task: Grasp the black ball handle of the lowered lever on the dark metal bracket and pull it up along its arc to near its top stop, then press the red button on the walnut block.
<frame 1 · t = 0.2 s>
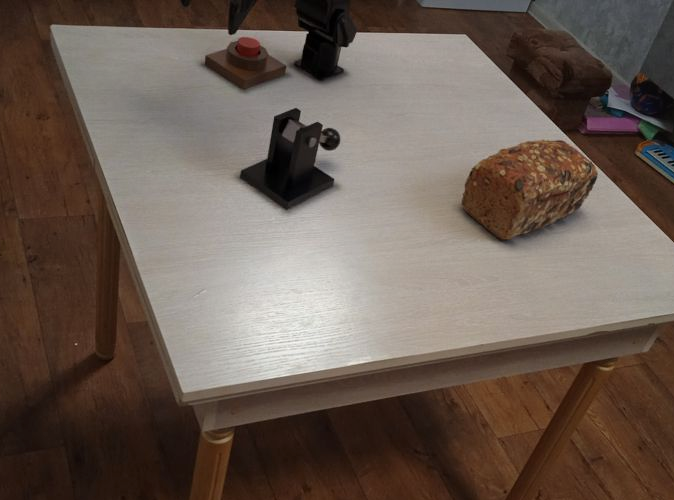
hand: (208, 19, 115), 15 cm above the table, tool pointing down, fingers open, 9 cm apart
lever: (313, 136, 115), point 6 cm above the table, hinge at -25.0°
bread: (519, 211, 124), on the table
button block: (245, 69, 137), on the table
button: (248, 47, 135), point 4 cm above the table, slide at 0.1 cm
bracket: (287, 181, 117), on the table
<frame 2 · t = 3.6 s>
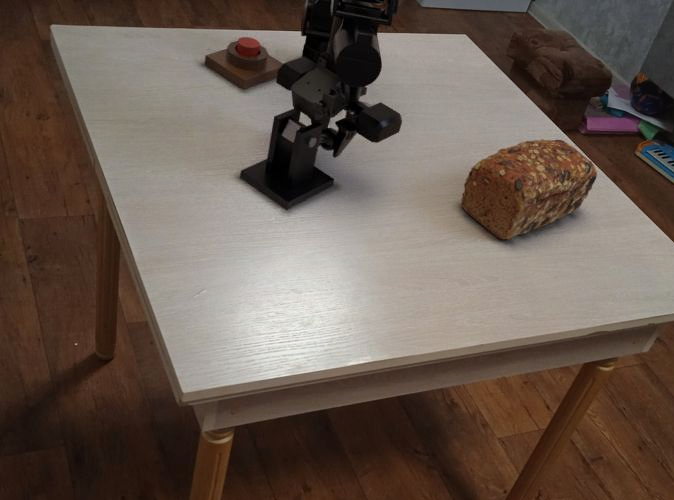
hand: (326, 151, 121), 2 cm above the table, tool pointing down, fingers closed on lever, 3 cm apart
lever: (313, 136, 115), point 6 cm above the table, hinge at -25.0°, touching gripper
everything else where it was.
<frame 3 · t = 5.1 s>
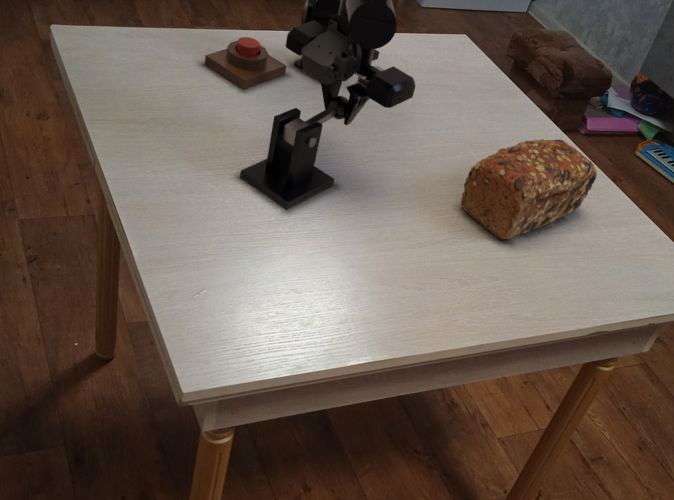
hand: (337, 118, 118), 7 cm above the table, tool pointing down, fingers closed on lever, 3 cm apart
lever: (319, 119, 114), point 9 cm above the table, hinge at 6.8°, touching gripper
everything else where it was.
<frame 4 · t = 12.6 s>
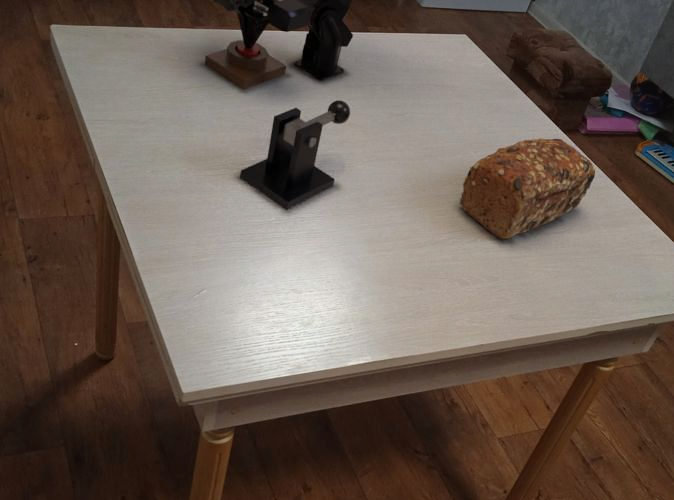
hand: (248, 47, 135), 4 cm above the table, tool pointing down, fingers closed, pressing on button
lever: (318, 121, 114), point 8 cm above the table, hinge at 2.1°
button: (247, 52, 135), point 3 cm above the table, slide at -0.8 cm, touching gripper
everything else where it was.
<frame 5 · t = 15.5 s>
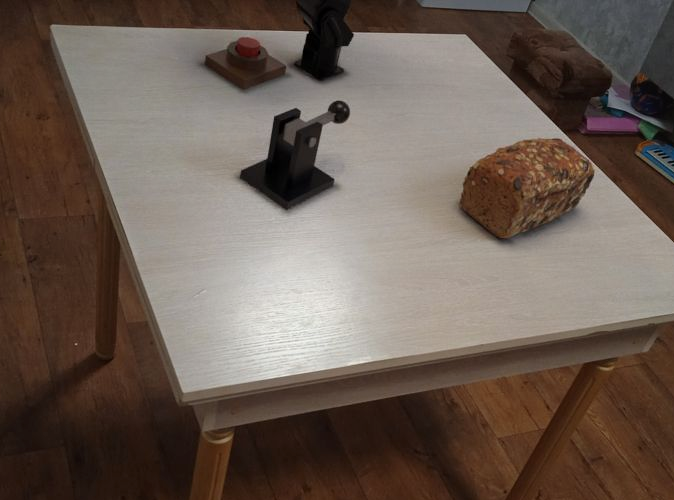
button: (248, 47, 135), point 4 cm above the table, slide at 0.1 cm
everything else where it was.
at the end: lever reached +24° during the clip, +2° at the end; button pushed in 1.1 cm at the most during the clip, back to where it started at the end; button slide at 0.1 cm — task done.
